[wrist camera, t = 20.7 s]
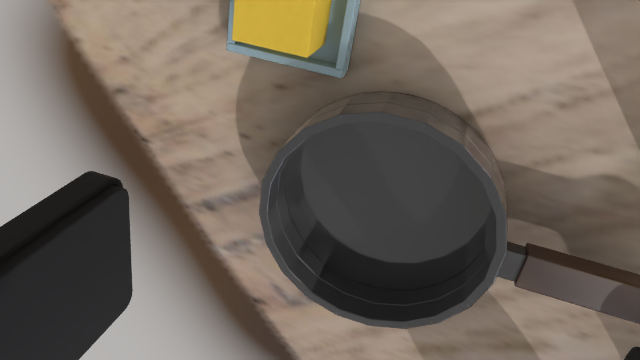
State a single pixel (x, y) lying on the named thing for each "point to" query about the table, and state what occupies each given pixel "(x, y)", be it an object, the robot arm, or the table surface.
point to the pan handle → (573, 280)
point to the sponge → (282, 24)
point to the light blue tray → (327, 57)
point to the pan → (386, 211)
